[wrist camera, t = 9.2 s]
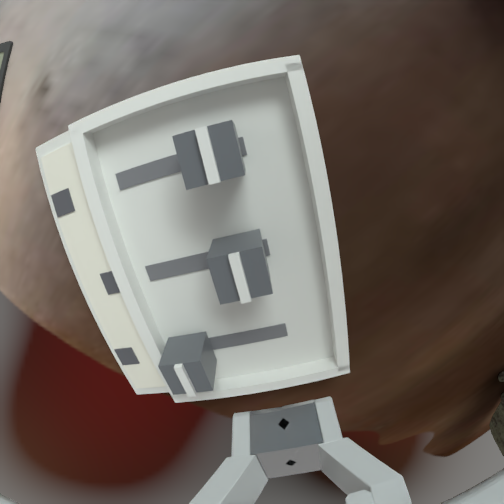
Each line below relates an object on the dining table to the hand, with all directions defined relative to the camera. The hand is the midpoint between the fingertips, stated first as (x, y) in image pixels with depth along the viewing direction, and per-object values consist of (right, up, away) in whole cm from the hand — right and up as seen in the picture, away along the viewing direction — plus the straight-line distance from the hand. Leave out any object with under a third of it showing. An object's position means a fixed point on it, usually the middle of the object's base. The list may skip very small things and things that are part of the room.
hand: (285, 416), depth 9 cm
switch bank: (-5, +5, +15) cm, 17 cm away
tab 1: (-3, +11, +10) cm, 16 cm away
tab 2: (-2, +5, +12) cm, 13 cm away
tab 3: (-6, -3, +15) cm, 17 cm away
